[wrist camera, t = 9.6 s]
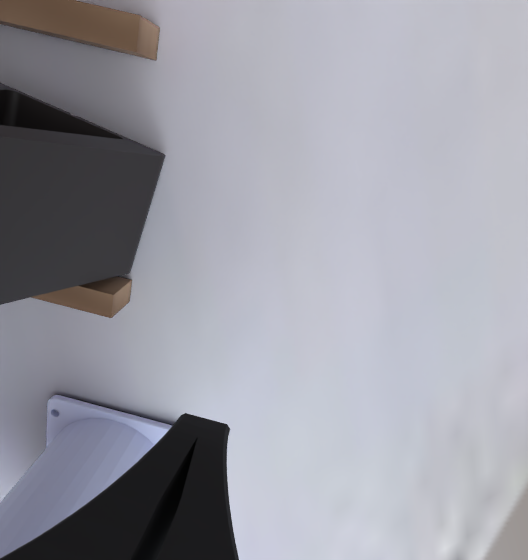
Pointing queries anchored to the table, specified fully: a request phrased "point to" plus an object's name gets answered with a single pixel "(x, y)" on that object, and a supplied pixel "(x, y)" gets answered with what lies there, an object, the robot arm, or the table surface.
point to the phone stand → (67, 198)
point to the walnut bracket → (105, 34)
